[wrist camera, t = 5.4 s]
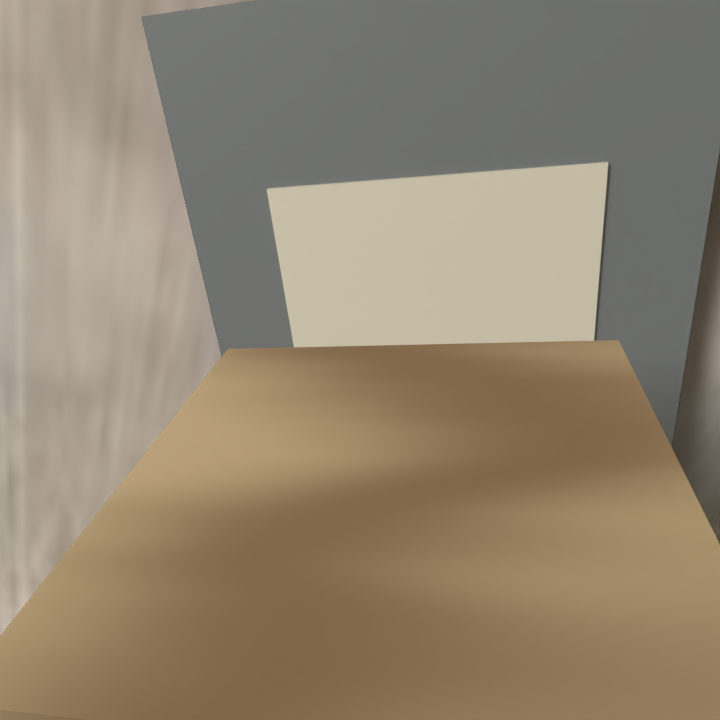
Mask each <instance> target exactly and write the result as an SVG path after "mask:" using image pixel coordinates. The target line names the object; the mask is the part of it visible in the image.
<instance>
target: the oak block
mask: <svg viewBox="0 0 720 720" xmlns="http://www.w3.org/2000/svg"><path fill="white" fill-rule="evenodd" d="M0 720H720V544H719V542H718V540H717V538H716V536H715V534H714V532H713V530H712V528H711V526H710V524H709V522H708V520H707V518H706V516H705V513H704V511H703V509H702V507H701V505H700V503H699V501H698V499H697V497H696V495H695V493H694V491H693V489H692V487H691V485H690V483H689V481H688V479H687V477H686V475H685V473H684V471H683V469H682V467H681V465H680V463H679V461H678V459H677V457H676V455H675V453H674V451H673V449H672V447H671V445H670V443H669V441H668V439H667V437H666V435H665V433H664V431H663V429H662V427H661V425H660V423H659V421H658V419H657V417H656V415H655V413H654V411H653V409H652V407H651V405H650V402H649V400H648V398H647V396H646V394H645V392H644V390H643V388H642V386H641V384H640V382H639V380H638V378H637V376H636V374H635V372H634V370H633V368H632V366H631V364H630V362H629V360H628V358H627V356H626V354H625V352H624V350H623V348H622V346H621V344H620V342H619V340H599V341H555V342H510V343H466V344H421V345H377V346H332V347H288V348H243V349H228V350H227V351H226V352H225V353H224V355H223V356H222V357H221V358H220V360H219V361H218V362H217V363H216V365H215V366H214V367H213V369H212V370H211V371H210V372H209V374H208V375H207V376H206V377H205V379H204V380H203V381H202V382H201V384H200V385H199V386H198V387H197V389H196V390H195V391H194V392H193V394H192V395H191V396H190V398H189V399H188V400H187V401H186V403H185V404H184V405H183V406H182V408H181V409H180V410H179V411H178V413H177V414H176V415H175V416H174V418H173V419H172V420H171V421H170V423H169V424H168V425H167V427H166V428H165V429H164V430H163V432H162V433H161V434H160V435H159V437H158V438H157V439H156V440H155V442H154V443H153V444H152V445H151V447H150V448H149V449H148V450H147V452H146V453H145V454H144V456H143V457H142V458H141V459H140V461H139V462H138V463H137V464H136V466H135V467H134V468H133V469H132V471H131V472H130V473H129V474H128V476H127V477H126V478H125V479H124V481H123V482H122V483H121V484H120V486H119V487H118V488H117V490H116V491H115V492H114V493H113V495H112V496H111V497H110V498H109V500H108V501H107V502H106V503H105V505H104V506H103V507H102V508H101V510H100V511H99V512H98V513H97V515H96V516H95V517H94V519H93V520H92V521H91V522H90V524H89V525H88V526H87V527H86V529H85V530H84V531H83V532H82V534H81V535H80V536H79V537H78V539H77V540H76V541H75V542H74V544H73V545H72V546H71V548H70V549H69V550H68V551H67V553H66V554H65V555H64V556H63V558H62V559H61V560H60V561H59V563H58V564H57V565H56V566H55V568H54V569H53V570H52V571H51V573H50V574H49V575H48V577H47V578H46V579H45V580H44V582H43V583H42V584H41V585H40V587H39V588H38V589H37V590H36V592H35V593H34V594H33V595H32V597H31V598H30V599H29V600H28V602H27V603H26V604H25V605H24V607H23V608H22V609H21V611H20V612H19V613H18V614H17V616H16V617H15V618H14V619H13V621H12V622H11V623H10V624H9V626H8V627H7V628H6V629H5V631H4V632H3V633H2V634H1V636H0Z"/></svg>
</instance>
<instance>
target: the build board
mask: <svg viewBox="0 0 720 720" xmlns="http://www.w3.org/2000/svg"><path fill="white" fill-rule="evenodd" d="M141 18H142V22H143V26H144V30H145V34H146V39H147V43H148V47H149V51H150V56H151V60H152V64H153V68H154V73H155V77H156V81H157V85H158V89H159V94H160V98H161V102H162V106H163V111H164V115H165V119H166V123H167V128H168V132H169V136H170V140H171V144H172V149H173V153H174V157H175V161H176V166H177V170H178V174H179V178H180V183H181V187H182V191H183V195H184V200H185V204H186V208H187V212H188V216H189V221H190V225H191V229H192V233H193V238H194V242H195V246H196V250H197V255H198V259H199V263H200V267H201V271H202V276H203V280H204V284H205V288H206V293H207V297H208V301H209V305H210V310H211V314H212V318H213V322H214V326H215V331H216V335H217V339H218V343H219V348H220V352H221V356H223V355H224V353H225V352H226V351H227V350H228V349H243V348H288V347H332V346H377V345H421V344H466V343H510V342H555V341H599V340H619V342H620V344H621V346H622V348H623V350H624V352H625V354H626V356H627V358H628V360H629V362H630V364H631V366H632V368H633V370H634V372H635V374H636V376H637V378H638V380H639V382H640V384H641V386H642V388H643V390H644V392H645V394H646V396H647V398H648V400H649V402H650V405H651V407H652V409H653V411H654V413H655V415H656V417H657V419H658V421H659V423H660V425H661V427H662V429H663V431H664V433H665V435H666V437H667V439H668V441H669V443H670V445H671V447H672V443H673V437H674V430H675V424H676V418H677V412H678V405H679V399H680V393H681V387H682V381H683V374H684V368H685V362H686V356H687V349H688V343H689V337H690V331H691V325H692V318H693V312H694V306H695V300H696V293H697V287H698V281H699V275H700V269H701V262H702V256H703V250H704V244H705V237H706V231H707V225H708V219H709V213H710V206H711V200H712V194H713V188H714V181H715V175H716V169H717V163H718V157H719V150H720V0H256V1H249V2H241V3H234V4H227V5H220V6H213V7H206V8H199V9H192V10H185V11H178V12H171V13H164V14H157V15H150V16H143V17H141Z"/></svg>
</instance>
